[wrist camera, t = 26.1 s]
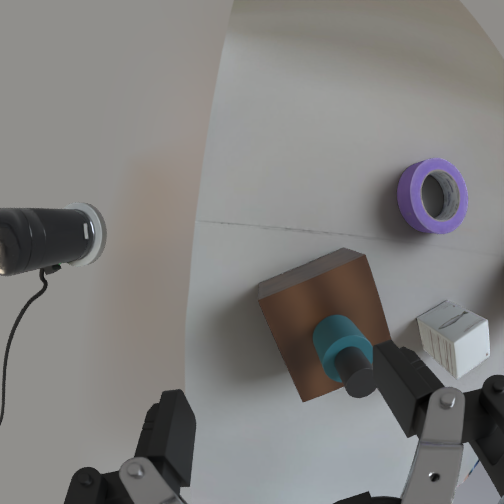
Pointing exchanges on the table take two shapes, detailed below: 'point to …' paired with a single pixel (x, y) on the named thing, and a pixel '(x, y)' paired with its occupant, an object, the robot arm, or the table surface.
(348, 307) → the brown wooden box
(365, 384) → the teal and black cylinder
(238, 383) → the table surface
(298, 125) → the table surface
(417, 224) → the tape roll
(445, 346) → the white packaging box
